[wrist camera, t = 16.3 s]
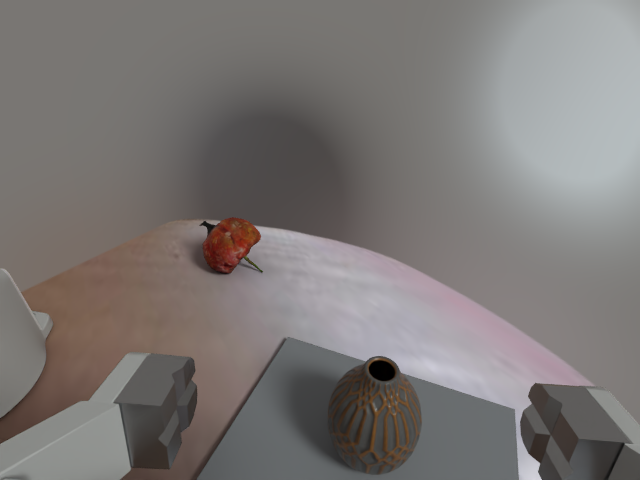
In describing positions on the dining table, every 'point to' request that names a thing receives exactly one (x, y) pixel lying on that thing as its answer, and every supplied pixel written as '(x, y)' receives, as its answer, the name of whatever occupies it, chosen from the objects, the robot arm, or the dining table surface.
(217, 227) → the pomegranate
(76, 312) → the dining table surface
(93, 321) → the dining table surface
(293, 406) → the mat
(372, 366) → the vase
